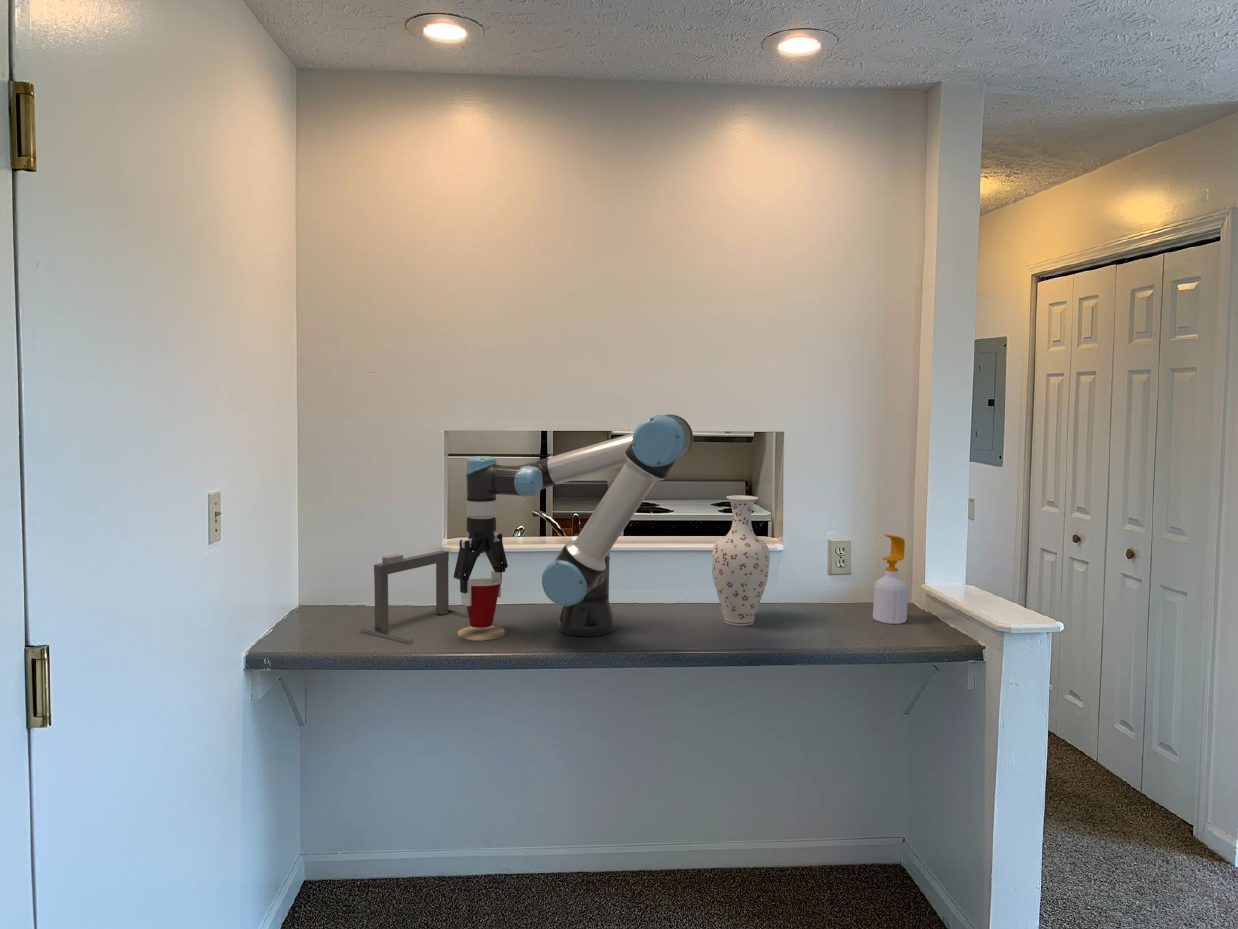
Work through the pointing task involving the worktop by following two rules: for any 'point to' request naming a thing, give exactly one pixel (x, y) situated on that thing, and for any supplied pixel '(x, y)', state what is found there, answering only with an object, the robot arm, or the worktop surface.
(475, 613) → the plastic cup
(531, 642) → the worktop surface
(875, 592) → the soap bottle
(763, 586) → the vase
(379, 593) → the gantry frame
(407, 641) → the track
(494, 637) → the cork mat
